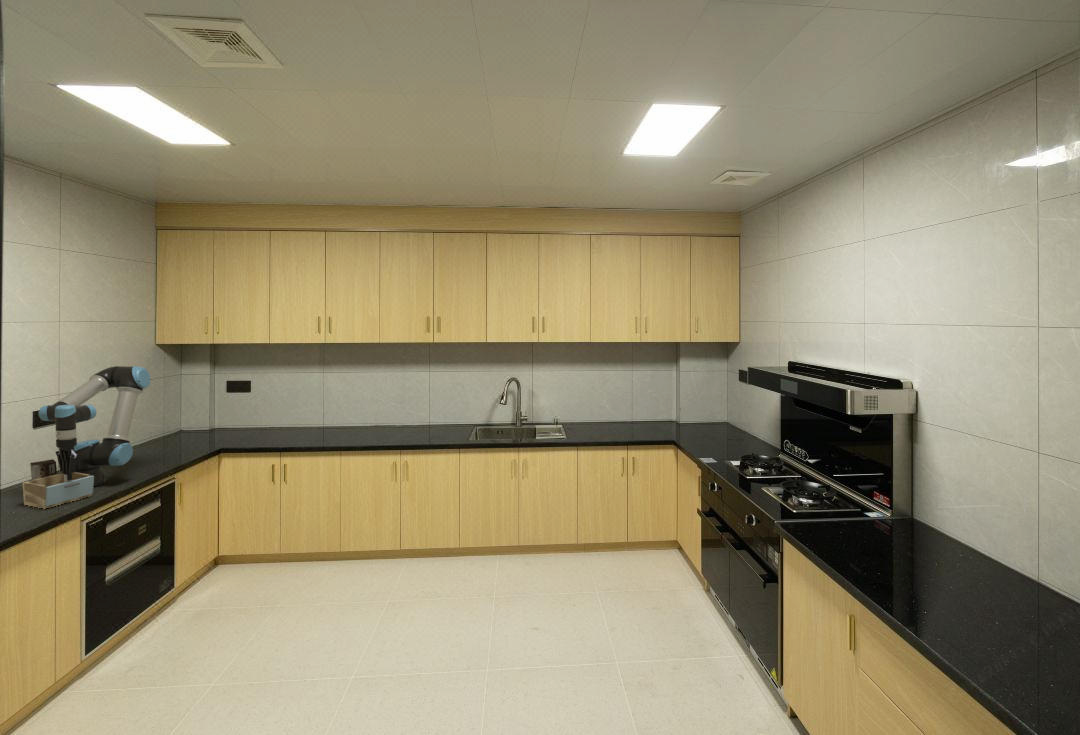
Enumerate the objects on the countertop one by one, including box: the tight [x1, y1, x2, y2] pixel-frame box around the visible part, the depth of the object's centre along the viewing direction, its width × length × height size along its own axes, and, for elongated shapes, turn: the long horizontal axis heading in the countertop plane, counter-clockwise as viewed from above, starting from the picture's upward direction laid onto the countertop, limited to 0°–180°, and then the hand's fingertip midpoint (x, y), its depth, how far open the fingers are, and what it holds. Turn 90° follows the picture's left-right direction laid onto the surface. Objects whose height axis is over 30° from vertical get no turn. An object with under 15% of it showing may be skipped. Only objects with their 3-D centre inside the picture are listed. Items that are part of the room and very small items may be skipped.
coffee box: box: [29, 459, 58, 480], centre depth 284 cm, size 9×6×16 cm
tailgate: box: [46, 476, 94, 506], centre depth 271 cm, size 20×2×9 cm, turn 160°
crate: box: [22, 472, 92, 510], centre depth 275 cm, size 20×15×11 cm
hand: (68, 486), depth 271 cm, fingers closed
